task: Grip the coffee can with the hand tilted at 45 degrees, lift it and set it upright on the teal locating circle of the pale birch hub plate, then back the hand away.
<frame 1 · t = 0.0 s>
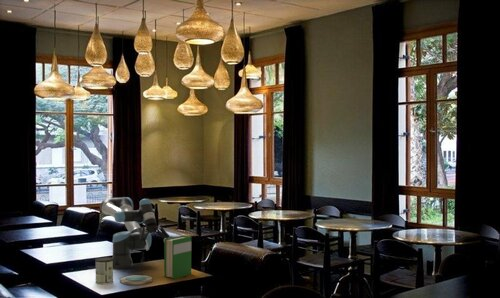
hand: (157, 248, 362), 15 cm above the table, tool tilted 35°, fingers open, 13 cm apart
hardback book: (177, 276, 352), on the table
hub plate: (136, 281, 337), on the table
coffee can: (104, 282, 334), on the table
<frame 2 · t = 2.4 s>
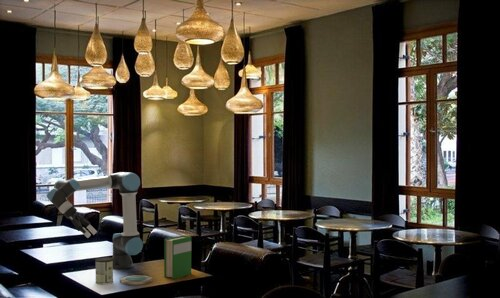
hand: (92, 234, 338), 28 cm above the table, tool tilted 45°, fingers open, 13 cm apart
nothing on the table moved.
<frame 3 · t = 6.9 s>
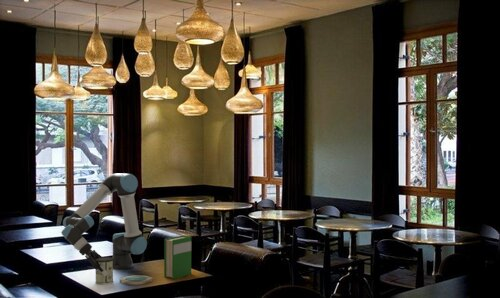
hand: (109, 273, 334), 6 cm above the table, tool tilted 45°, fingers closed on coffee can, 10 cm apart
coffee can: (104, 282, 334), on the table, touching gripper
everything else where it was.
when the fingers open (8 cm above the table, at t = 12.6 s): coffee can drops 1 cm, resting on hub plate.
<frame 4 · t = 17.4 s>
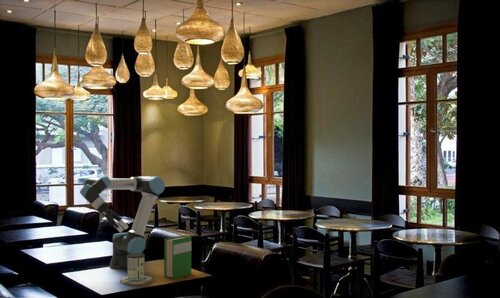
hand: (124, 229, 347), 30 cm above the table, tool tilted 45°, fingers open, 13 cm apart
coffee can: (136, 278, 337), point 2 cm above the table, touching hub plate
everything else where it was.
at the end: coffee can inside the target area on the hub plate (0.1 cm from its centre), point 1.6 cm above the hub plate's base; coffee can tilted 0°; the gripper is holding nothing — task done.
